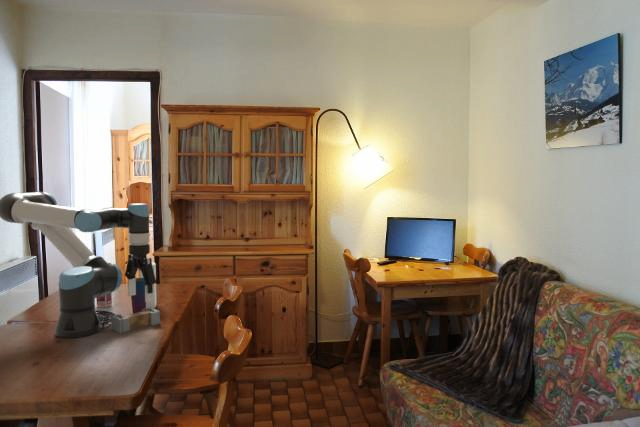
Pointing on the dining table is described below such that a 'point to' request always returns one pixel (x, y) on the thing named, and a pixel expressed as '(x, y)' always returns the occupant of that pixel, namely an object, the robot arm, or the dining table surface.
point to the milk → (153, 303)
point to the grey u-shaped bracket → (119, 323)
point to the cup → (139, 296)
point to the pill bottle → (104, 300)
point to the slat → (138, 319)
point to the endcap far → (153, 316)
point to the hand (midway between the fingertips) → (140, 298)
